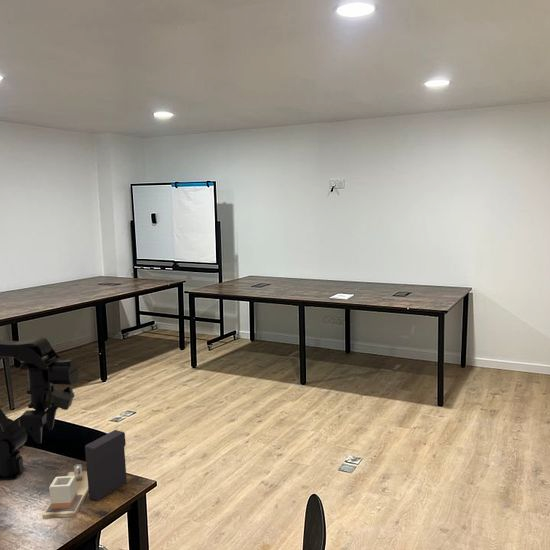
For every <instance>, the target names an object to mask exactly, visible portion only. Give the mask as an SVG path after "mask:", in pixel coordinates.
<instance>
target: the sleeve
mask: <svg viewBox="0 0 550 550" xmlns="http://www.w3.org/2000/svg"><path fill="white" fill-rule="evenodd" d="M48 489H49V500H50V502H51V509H62V508H72V506H73V504H74V502H75V500H76V499H77V487H76V476H67V475H64V476H55V478H54V479H53V481H52V482H51V483H50V485H49V487H48Z"/></svg>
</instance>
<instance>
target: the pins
mask: <svg viewBox="0 0 550 550" xmlns="http://www.w3.org/2000/svg"><path fill="white" fill-rule="evenodd" d="M82 468H83V467H82V464H81V463H80V464H79V463H78V464H75V465H74V466H73V472H74V476H76V481H81V480H82V471H83V470H82Z"/></svg>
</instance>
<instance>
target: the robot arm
mask: <svg viewBox="0 0 550 550" xmlns="http://www.w3.org/2000/svg"><path fill="white" fill-rule="evenodd" d="M0 357H1V358H2V357H3V358H4V357H5V358H13V359H17V360H18V361H20V362H23V364H22V365H21V366H20V367H19V370H20V371H24V370H25V371H26V370H27V378H28V379H27V380H28V389H27V390H26V394H27V395H29V398H30V402H29V403H28V404H27V408H28V409H29V410H25V411H24V412H23V413H22V414H21V415H20V416H19V418H16V419H14V420H13V419H11V418H9V417H7V415H6V414H5V413H4V411H3V410H2V409H1V408H0V481H2V480H15V479H17V478H18V477H19V475H20V474H21V473H22V472H23V470H24V469H25V466H24V461H23V459H24V458H23V456H21V451H20V450H21V449H23V447H24V444H25V443H26V442H27V440H28V435H30V436H31V437H32V439H33V441H34V442H35V443H36V445H40V444H42V441H43V439H42V438H43V426H44V425H46V427H47V429H48V430H53V428H54V425H55V418H56V415H57V410H58V409H61V410H64V411H68V410H69V408H70V407H71V406H72V403H73V400H74V399H75V392H74V391H73V387H72V386H70V385H75V384H76V383H77V381H78V380H79V373H80V372H79V368H78V366H77V364H75V362H74V359H64V360H63V359H62V360H61V357H60V355H59V354H58V353H57V352H56V350H55V349H54V348H53V347H52V346H51V343H50V341H48V339H47V338H45V337H37V338H36V337H35V338H29V339H24V340H18V341H17V340H0ZM45 358H46V359H45ZM55 385H58V386H59V385H66V387H65V388H64V389H61V388H60V389H57V388H56V386H55ZM68 385H69V386H68ZM30 409H32V410H30Z"/></svg>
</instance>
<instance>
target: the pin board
mask: <svg viewBox="0 0 550 550" xmlns="http://www.w3.org/2000/svg"><path fill="white" fill-rule="evenodd" d="M66 476H74V471H68V473H67V475H66ZM76 487H77V499H76V500H75V502H74V504H73V506H72V508H62V509H51V501H50V502H49V504H48V505H47V507H46V508H45V510H44V512H43V513H42V519H59V518H73V517H76V516H77V515H78V513H79V511H80V509H81V507H82V505H83V502H84V501H85V499H86V497H87V496H88V494H89V490H88V478H87V470H84V471H83V470H82V480H81V481H76Z"/></svg>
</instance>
